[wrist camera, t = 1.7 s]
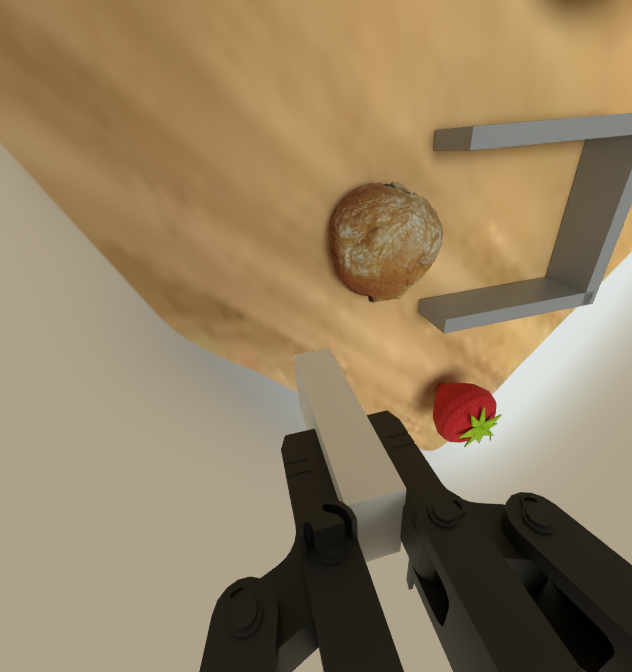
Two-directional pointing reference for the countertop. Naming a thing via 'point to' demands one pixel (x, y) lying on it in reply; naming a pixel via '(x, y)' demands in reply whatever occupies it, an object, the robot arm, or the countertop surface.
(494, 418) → the strawberry
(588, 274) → the box
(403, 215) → the bread roll
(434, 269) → the countertop surface
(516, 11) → the countertop surface
